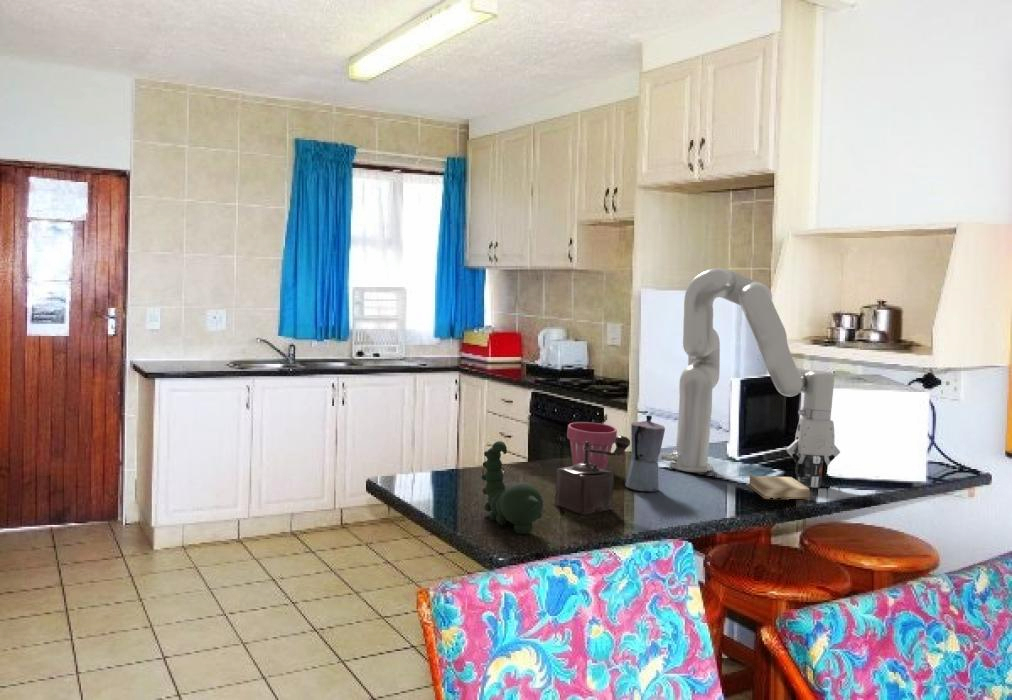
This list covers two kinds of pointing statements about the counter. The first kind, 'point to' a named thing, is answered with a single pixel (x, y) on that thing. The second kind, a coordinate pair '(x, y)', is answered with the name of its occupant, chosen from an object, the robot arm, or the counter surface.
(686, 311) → the robot arm
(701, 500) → the counter surface
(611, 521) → the counter surface
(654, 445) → the moka pot
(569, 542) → the counter surface
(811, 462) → the pill bottle
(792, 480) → the base
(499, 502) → the toy figurine
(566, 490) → the coffee grinder
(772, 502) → the counter surface
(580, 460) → the plant pot
